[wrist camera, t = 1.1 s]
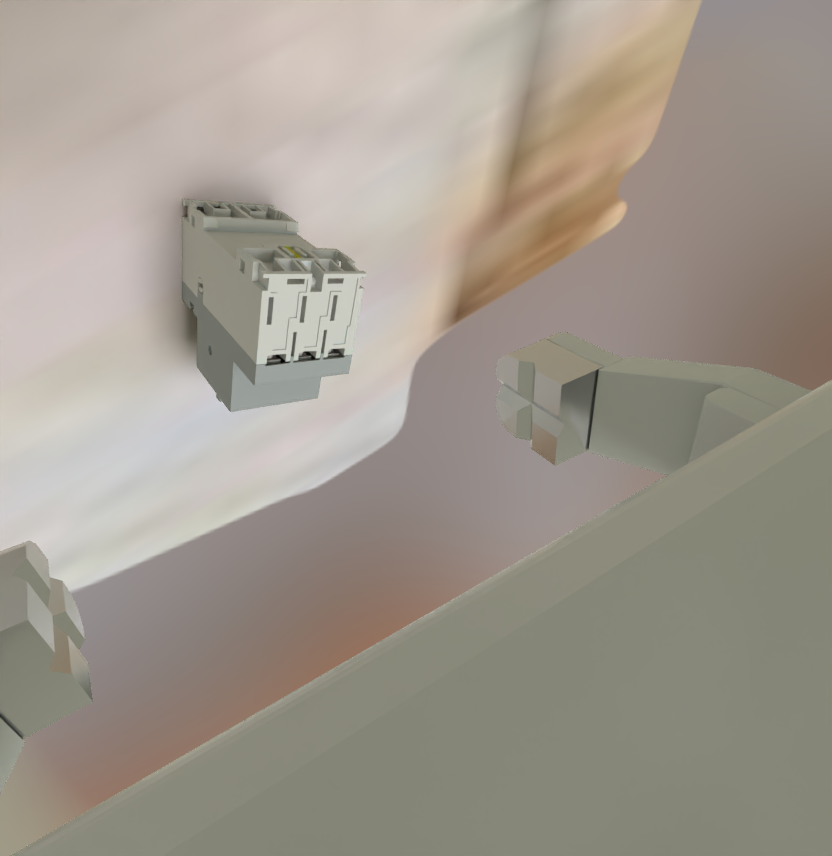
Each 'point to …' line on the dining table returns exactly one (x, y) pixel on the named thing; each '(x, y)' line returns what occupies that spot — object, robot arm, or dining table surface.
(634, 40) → the dining table surface
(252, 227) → the circuit breaker
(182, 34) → the dining table surface
